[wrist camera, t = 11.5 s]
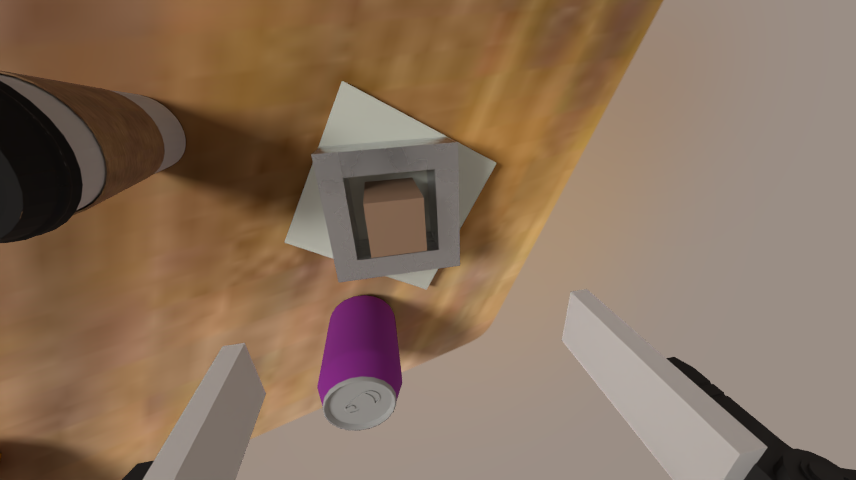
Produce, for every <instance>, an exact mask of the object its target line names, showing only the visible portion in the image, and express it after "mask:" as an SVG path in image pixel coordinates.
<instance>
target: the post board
mask: <svg viewBox="0 0 856 480" xmlns="http://www.w3.org/2000/svg"><path fill="white" fill-rule="evenodd" d="M433 137H445V135H443V134H441V133H439V132H437V131H436V130H434V129H432V128H430V127H428V126H426V125H424V124H422V123H421V122H419V121H417V120H415V119H413V118H411V117H409V116H407V115H405V114H404V113H402V112H400V111H398V110H396V109H394V108H392V107H390V106H389V105H387V104H385V103H383V102H381V101H379V100H377V99H375V98H374V97H372V96H370V95H368V94H366V93H364V92H362V91H360V90H358V89H357V88H355V87H353V86H351V85H349V84H347V83H345V82H343V81H342V82H341V85H340V88H339V91H338V94H337V96H336V99H335V102H334V105H333V108H332V110H331V113H330V116H329V119H328V122H327V125H326V127H325V130H324V133H323V136H322V139H321V141H320V144H319V147H322V146H334V145H346V144H359V143H371V142H383V141H396V140H408V139H420V138H433ZM446 137H447V136H446ZM448 138H449V137H448ZM450 139H451V138H450ZM319 147H318V148H319ZM495 165H496V162H494V161H492V160H490V159H488V158H486V157H484V156H483V155H481V154H479V153H477V152H475V151H473V150H471V149H469V148H468V147H466V146H464V145H462V144H460V143H458V166H459V230H460V228H461V227H462V225H463V223H464V221H465V219H466V218H467V216H468V214H469V212H470V210H471V209H472V207H473V205H474V203H475V201H476V199H477V198H478V196H479V194H480V192H481V190H482V189H483V187H484V185H485V183H486V181H487V180H488V178H489V176H490V174H491V172H492V171H493V169H494V167H495ZM348 178H349V184H350V190H351V195H352V201H353V207H354V213H355V219H356V225H357V231H358V237H359V240H364V239H369V245H370V252H371V258H375V257H383V256H391V255H399V254H406V253H414V252H422V251H427V242H426V232H429V231H430V217H429V200H428V184H427V170H421V171H410V172H400V173H389V174H379V175H368V176H358V177H348ZM285 243H288V244H291V245H294V246H297V247H300V248H303V249H306V250H309V251H312V252H315V253H318V254H321V255H324V256H327V257H330V258H333V253H332V249H331V244H330V239H329V235H328V230H327V226H326V221H325V216H324V212H323V207H322V202H321V198H320V193H319V188H318V184H317V179H316V175H315V170H314V165H313V164H312V167H311V169H310V172H309V175H308V178H307V181H306V183H305V186H304V189H303V192H302V195H301V197H300V200H299V203H298V206H297V209H296V211H295V214H294V217H293V220H292V223H291V225H290V228H289V231H288V234H287V237H286V239H285ZM333 259H334V258H333ZM437 270H438V269H431V270H424V271H417V272H410V273H403V274H396V275H388V276H387V277H390V278H393V279H396V280H399V281H402V282H405V283H408V284H411V285H414V286H417V287H420V288H423V289H426V290H427V288H428V286H429V284H430V282H431V281H432V279H433V277H434V275H435V273H436V272H437Z"/></svg>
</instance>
